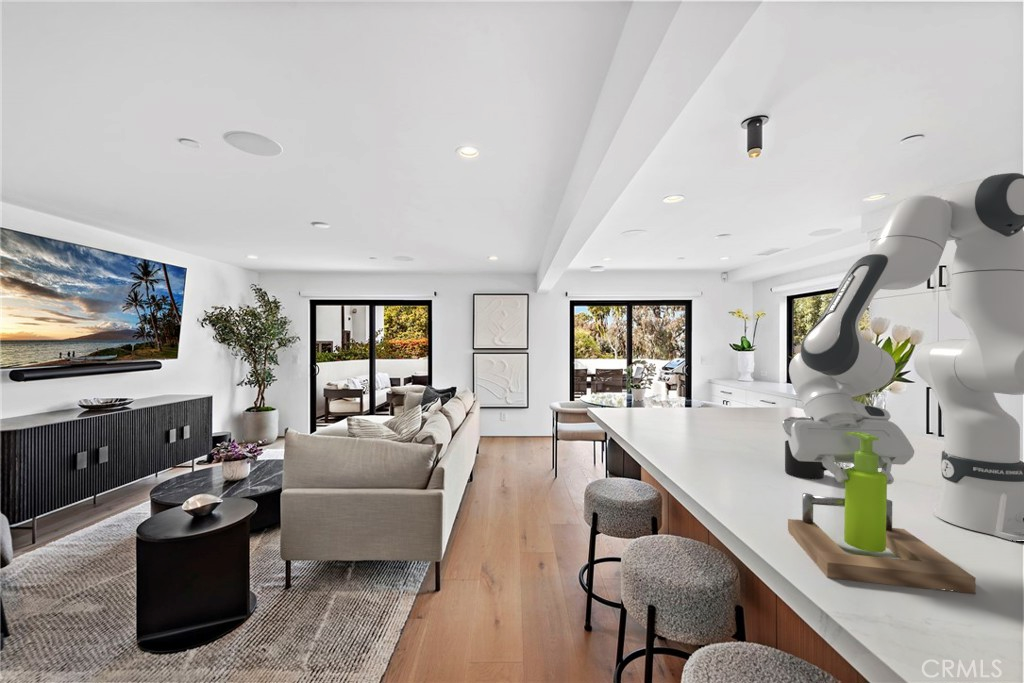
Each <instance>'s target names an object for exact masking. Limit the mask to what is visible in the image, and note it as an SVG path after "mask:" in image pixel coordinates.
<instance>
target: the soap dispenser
mask: <svg viewBox="0 0 1024 683" xmlns="http://www.w3.org/2000/svg"><path fill="white" fill-rule="evenodd" d="M845 434H846V435H853V436H856V437H859V438H861V445H860V450H858V451H855V453H854V463H853V465H854V466H853V467H848V468H845V470H847V472H848V475H849V477H850V480H849V481H848V482H847V483H844V484H845V486H844V492H845V493H844V498H845V507H844V526H843V527H844V531H843V532H844V533H843V534H844V535H843V536H844V537H843V538H844V539H843V541H844V542H845V543H846V544H847V545H849V546H851V547H853V548H856V549H858V550H862V551H865V552H872V553H883V552H885V551H886V548H887V547H886V505H887V498H888V497H887V496H888V494H887V493H888V490H887V489H888V484H887V475H885V474H883V473H881V471H879V468H878V454H876V453H875V452H872V443H873V441H878V437H876V436H873V435H870V434H867V433H863V432H845Z"/></svg>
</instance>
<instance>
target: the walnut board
mask: <svg viewBox="0 0 1024 683" xmlns="http://www.w3.org/2000/svg"><path fill="white" fill-rule="evenodd" d="M788 531H789V532H788ZM787 532H788V533H789V534H790V536H793V537H792V538H793V539H794V540H795V542H796V543H798V545H799V546H800V547H801V548H802V550H803V551H804V552H805V553H806V555H808V557H809V559H811V560H812V561H813V562H814V564H815V565H816V566H817V567H818V569H820V571H821V572H822V573H823V574H824V575H825V576H826V578H827V579H828V578H830V579H837V580H846V581H855V582H865V583H873V584H874V583H875V584H882V585H883V584H884V585H891V586H892V585H893V586H902V587H909V588H918V589H920V588H921V589H927V588H933V589H932V590H936V589H945V590H953V591H952V592H954V591H959V592H958V593H963V592H964V594H973V595H976V583H977V582H976V577H975V576H973V575H972V574H971V573H970V572H968V571H966V570H965V569H964V568H962V567H960V566H959V565H958V564H956V563H954V561H952V560H950V559H949V558H948V557H946V556H944V555H943V554H941V553H940V552H938V550H935V549H934V548H932V547H931V546H930V545H928V544H927V543H925V542H924V541H922V540H921V539H920V538H918V537H917V536H915V535H913V534H912V533H910V532H909V531H908V530H906V529H905V528H899V527H892V531H887V530H886V548H887V549H888V548H889V549H890V552H892V553H893V554H895V555H896V556H897V557H898V558H893V557H892V558H891V557H882V556H881V557H879V556H870V555H861V554H851V553H847V552H845V550H843V549H842V548H841V547H840V545H838V544H837V543H836V542H835V541H834V540H833V539H832V538H831V537H830V536H829V535H828V534H827V533H826V532H825V531H824V530H823V529H822V528H820V527H819V525H818V524H816V523H815V521H813V524H807V523H804V522H803V521H802V519H793V518H792V519H791V518H787ZM889 549H888V550H889ZM945 590H944V591H945Z"/></svg>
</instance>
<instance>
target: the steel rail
mask: <svg viewBox="0 0 1024 683" xmlns="http://www.w3.org/2000/svg"><path fill="white" fill-rule="evenodd" d="M814 505H815V506H816V505H817V506H826V507H827V506H829V507H840V508H841V507H842V508H845V497H834V496H833V497H831V496H830V497H829V496H817V495H814V494H811V493H806V492H805V493H802V506H801V507H802V510H801V511H802V512H801V513H802V519H801V520H802V521H803V522H804V523H807V524H813V522H814ZM892 528H893V500H892V499H891V500H890V499H887V505H886V530H887V531H892Z"/></svg>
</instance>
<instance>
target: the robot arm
mask: <svg viewBox="0 0 1024 683" xmlns="http://www.w3.org/2000/svg"><path fill="white" fill-rule="evenodd" d="M1023 228H1024V174H1022V173H1018V172H1011V173H1009V172H1008V173H1000V174H994V175H990V176H988V177H985V178H981V179H975V180H970V181H965V182H962V183H959V184H956V185H951V186H950V187H949V188H944V189H942V190H939V191H936V192H934V193H931V194H929V195H923V194H922V195H916V196H911V197H908V198H906V199H904V200H902V201H900V202H899V203H897V204H896V206H895V207H894V208H893V210H892V211H891V212H890V214H889V215H888V217H886V219H885V221H884V223H883V224H882V226H881V228H880V230H879V232H878V235H877V236H876V238H875V241H874V243H873V245H872V247H871V249H870V251H869V253H868V254H867V255H864V256H862V257H860V258H858V259H857V261H855V262H854V264H853V265H851V268H850V269H849V270H848V271H847V273H846V274H845V276H844V278H843V279H842V281H841V282H840V284H839V285H838V288H837V289H836V291H835V293H834V294H833V296H832V298H831V300H829V303H828V304H827V306H826V307H825V310H824V311H823V313H822V315H820V317H819V319H818V320H817V321H816V323H814V325H813V326H812V327H811V328H810V329H809V330H808V332H807V333H806V334H805V336H804V337H803V339H802V342H801V346H800V352H799V353H797V354H796V355H794V357H792V359H791V360H790V363H789V367H788V373H789V379H790V381H791V385H792V388H793V390H794V393H795V394H796V396H797V399H799V401H800V402H801V403H802V409H803V412H804V415H805V416H804V417H803V416H801V417H798V416H797V417H796V416H790V417H789V416H788V417H787V418H786V419H784V420H783V421H782V428H783V430H784V433H785V434H786V435H787V439H788V441H789V446H790V450H791V453H792V455H793V457H794V458H796V459H797V460H798V461H811V462H822V464H823V466H824V467H825V468H826V469H827V470H826V471H828V472H830V473H831V474H832V475H833V476H834V478H835V480H836V482H837V483H844V484H845V483H847V482H848V481H849V480H850V477H849V475H848V472H847V470H846V469H842V468H841V467H840V466H839V465H838V464H836V463H840V464H841V463H842V464H843V463H846V464H847V463H849V464H854V453H855V451H858V450H860V445H861V438H859V437H856V436H853V435H846V434H845V432H863V433H867V434H870V435H873V436H876V437H878V441H873V443H872V452H875V453H876V454H878V469H881V471H880V472H881V473H883V474H885V475H887V485H891V484H893V483H894V482H895V480H894V477H893V475H892V473H891V471H892V465H897V466H898V465H902V466H903V465H906V464H907V463H908V462H910V461H911V459H913V457H914V454H915V450H914V447H913V446H912V444H911V442H910V441H909V439H908V438H907V436H906V434H905V433H904V432H903V430H902V429H901V428H900V427H899V426H898V425H897V424H896V423H894V422H892V421H890V419H891V414H890V412H889V411H888V410H887V409H884V408H882V407H878V406H873V405H870V404H866V403H863V402H859V401H858V400H854V399H853V398H858V397H862V396H864V395H868V394H870V393H874V392H875V391H877V390H881V389H882V388H884V387H886V386H887V385H888V384H889V383H891V381H892V380H893V378H894V376H895V373H896V369H897V363H896V360H895V359H894V358H895V357H893V356H892V354H891V353H889V352H888V351H886V350H885V349H883V348H881V347H880V346H878V345H877V344H875V343H874V342H871V341H869V340H868V339H867V338H865V337H864V336H862V334H861V332H860V331H859V323H860V321H861V319H862V317H863V316H864V314H865V312H866V310H867V309H868V307H869V306H870V303H871V302H872V300H873V299H874V297H875V295H877V293H878V292H879V291H880V290H887V291H889V290H891V291H892V290H896V291H897V290H907V289H911V288H914V287H917V286H919V285H922V284H924V283H926V282H927V281H928V280H929V279H930V278H931V277H932V275H933V274H934V272H935V271H936V269H937V268H938V266H939V263H940V261H941V258H942V256H943V253H944V251H945V247H946V246H947V242H948V241H949V242H951V241H954V243H955V245H956V249H955V252H954V257H953V262H952V267H951V278H950V289H949V290H950V292H949V303H948V308H949V311H950V313H951V314H952V315H953V316H955V317H956V318H958V319H960V320H961V321H963V323H964V324H965V326H966V327H967V328H966V329H968V330H967V331H968V333H969V337H970V338H969V339H956V338H955V339H944V340H940V341H936V342H931V343H927V344H925V345H923V346H922V347H920V348H919V349H918V351H917V352H916V354H915V356H914V361H913V365H914V369H915V372H916V374H917V375H918V376H919V377H920V378H921V379H922V380H923V381H924V382H926V383H927V385H928V386H929V387H930V389H931V391H932V392H933V393H934V395H935V398H936V400H937V402H938V405H939V407H940V410H941V413H942V414H941V415H942V417H943V418H942V420H943V437H944V438H943V439H944V441H943V442H944V445H943V446H944V448H943V449H944V450H943V451H941V458H940V460H941V462H940V464H941V466H940V467H941V468H940V469H941V477H942V483H941V487H940V488H941V489H940V492H939V498H938V501H937V504H936V506H935V509H933V510H934V511H933V514H934V515H935V517H937V518H938V519H940V520H942V521H945V522H947V523H949V524H952V525H953V526H958V527H961V528H964V529H967V530H971V531H973V532H974V531H975V532H980V533H984V534H986V535H987V534H989V535H992V536H996V537H997V538H998V537H999V538H1002V539H1004V540H1008V541H1012V540H1013V541H1012V542H1016V541H1017V540H1024V461H1022V460H1021V427H1020V424H1019V422H1018V420H1016V418H1014V417H1013V415H1011V414H1010V413H1008V412H1007V411H1006V410H1004V409H1003V407H1001V405H1000V403H999V402H998V399H997V397H996V396H995V393H996V394H1001V395H1002V394H1003V395H1010V396H1017V395H1018V396H1021V395H1024V229H1023Z"/></svg>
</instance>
